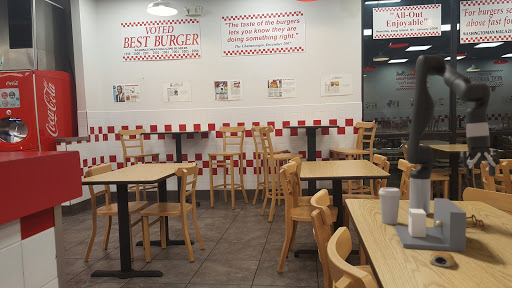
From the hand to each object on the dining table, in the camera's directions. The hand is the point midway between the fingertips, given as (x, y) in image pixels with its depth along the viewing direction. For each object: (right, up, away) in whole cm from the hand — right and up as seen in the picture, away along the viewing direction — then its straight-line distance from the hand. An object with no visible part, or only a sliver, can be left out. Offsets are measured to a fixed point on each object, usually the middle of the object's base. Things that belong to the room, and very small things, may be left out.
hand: (481, 177), depth 143 cm
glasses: (+1, -23, +14) cm, 27 cm away
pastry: (-27, -25, -24) cm, 45 cm away
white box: (-25, -22, -1) cm, 33 cm away
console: (-22, -24, -1) cm, 32 cm away
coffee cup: (-27, -22, +23) cm, 42 cm away
